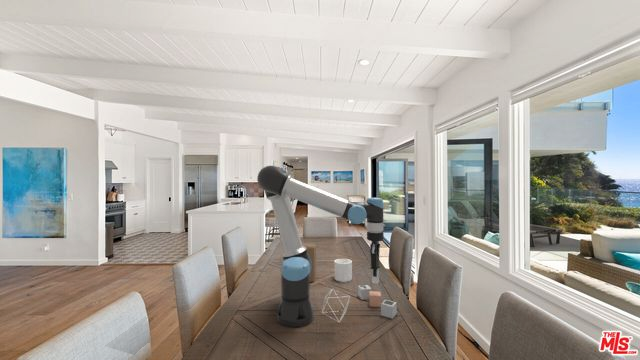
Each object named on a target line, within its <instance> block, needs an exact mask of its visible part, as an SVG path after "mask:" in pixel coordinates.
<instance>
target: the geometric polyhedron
mask: <svg viewBox="0 0 640 360" xmlns="http://www.w3.org/2000/svg"><path fill="white" fill-rule="evenodd" d="M332 291H333V292H334V293H335V295H336V296H332V297H330V296H331V295H332ZM336 291H337V292H338V293H342V294H343V296H342V298H348V300H347V302H346V304H345V306H344V304H343V303H342V301H341V299H340V297H339V296H338V294H337V293H336ZM328 295H329V296H328ZM344 295H345V296H344ZM327 296H328V297H327ZM335 298H337V299H338V300H339V302H340V303H341V305H342V307H343V308H344V309H343V310H342V314H341V316H340V319H339V318H338V317H337V315H336V314H335V312H336V313H337V312H338V310H333V309H332V307H331V305H330V303H329V302H328V301H329V299H335ZM350 299H351V295H350V294H347V293H344V292H342V291H340V290H338V289H335V288H331V290H330V291H329V292H328V293H327V294H326V295H325V297H324V299H323V302H325V303H323V305H322V309H321V313H322V314H323V315H326V316H327V317H329V318H331V319H333V320H334V321H335V322H338V323H341V321H342V319H343V318H344V316H345V314H346V312H347V309H348V307H349V304H350ZM326 305H328V307H329V308H330V310H331V311H330V313H333V315H334V316H335V318H336V319H335V318H333V317H331V316H329V314H328V315H327V314H325V313H326V311H324V310H325V307H326Z"/></svg>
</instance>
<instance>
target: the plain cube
mask: <svg viewBox="0 0 640 360" xmlns="http://www.w3.org/2000/svg"><path fill="white" fill-rule="evenodd" d="M381 293H382V292H381V291H375V290H374V291H373V290H371V291H370V299H369V307H372V308H374V307H375V308H381V303H382V294H381Z"/></svg>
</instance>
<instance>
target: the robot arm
mask: <svg viewBox="0 0 640 360" xmlns="http://www.w3.org/2000/svg"><path fill="white" fill-rule="evenodd" d="M256 178H257V179H256V181H257V185H258V187H260V189H261V190H262V191H264V193H265V196H266V199H267V200H268V201H270V202H271V207H272V210H273V214H274V217H275V221H276V226H277V229H278V232H279V236H280V240H281V244H282V246H283V253H282V260H283V261H282V264H281V267H280V272H281V273H280V275H281V280H280V281H281V282H280V283H281V292H280V293H281V294H280V295H281V297H280V298H281V299H280V302H279V305H278V309H277V312H276V319H277V323H279V324H280V325H282V326H285V327H291V328H296V327H304V326H306V325H309V324H310V323H311V322H312V321H313V320H314V318H315V317H314V316H315V311H314V309H313V305H312V303H311V299H310V295H311V294H310V289H311V288H310V284H311V282H310V273H311V270H312V261H311V259H310V257H309V255H308V252H307V248H306V247H304V246H303V245H302V243H303V242H302V240H301V235H300V232H299V227H298V225H297V221H296V218H295V217H296V216H295V213H294V210H293V206H292V203H291V199H294V200H296V201H299V202H302V203H304V204H307V205H309V206H312V207H314V208H317V209H319V210H322V211H324V212H327V213H330V214H332V215H335V216H338V217H340V218H341V219H345V220H347V221H349V222H351V223H352V224H354V225H359V224H362V223H364V222H365V221H366V231H367V232H366V240H367V241H370V242H371V244H370V245H369V246H370V249H369V252H370V263H371V264H370V268H369V269H370V270H371V279H372V280H371V283H372V284H376V285H377V284H379V281H380V280H379V277H380V276H379V275H380V274H379V269H380V268H381V266H380V250H381V244H380V243H379V242H382V241H384V236H385V235H384V228H385V226H386V225H385V224H384V209H385V208H384V200H383V199H384V198H381V197H367V199H366V201H364V202H360V201H356V202H355V201H350V200H348V199H345V198H343V197H339V196H338V195H335V194H332V193H330V192H327V191H325V190H322V189H320V188H317V187H315V186H312V185H310V184H307V183H304V182H302V181H300V180H298V179H295V178H293V177H292V175H291V174H289V173H287V172H286V170H285V169H284V168H282V167H280V166H275V165H266V166H264V167H263V168H261V169H260V170H259V172H258V174H257V177H256Z"/></svg>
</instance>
